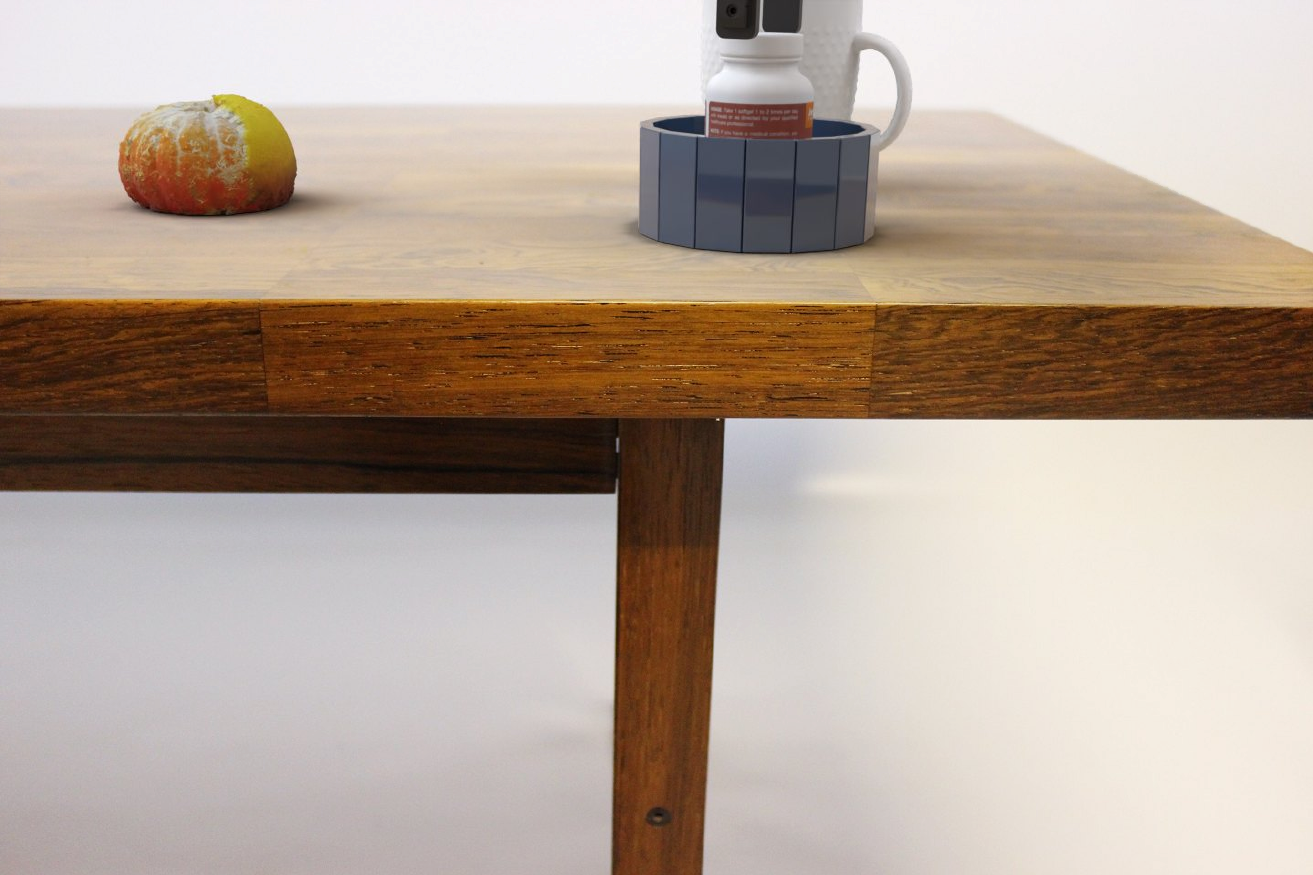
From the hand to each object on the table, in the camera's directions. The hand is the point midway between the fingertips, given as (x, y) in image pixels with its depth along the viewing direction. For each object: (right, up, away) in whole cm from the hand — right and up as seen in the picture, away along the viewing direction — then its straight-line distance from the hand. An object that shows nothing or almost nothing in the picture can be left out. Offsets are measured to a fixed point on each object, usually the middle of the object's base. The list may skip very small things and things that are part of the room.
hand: (760, 36), depth 76 cm
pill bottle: (0, -11, +4) cm, 11 cm away
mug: (+4, -5, +20) cm, 21 cm away
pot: (0, -10, +3) cm, 11 cm away
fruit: (-34, -8, +10) cm, 36 cm away
